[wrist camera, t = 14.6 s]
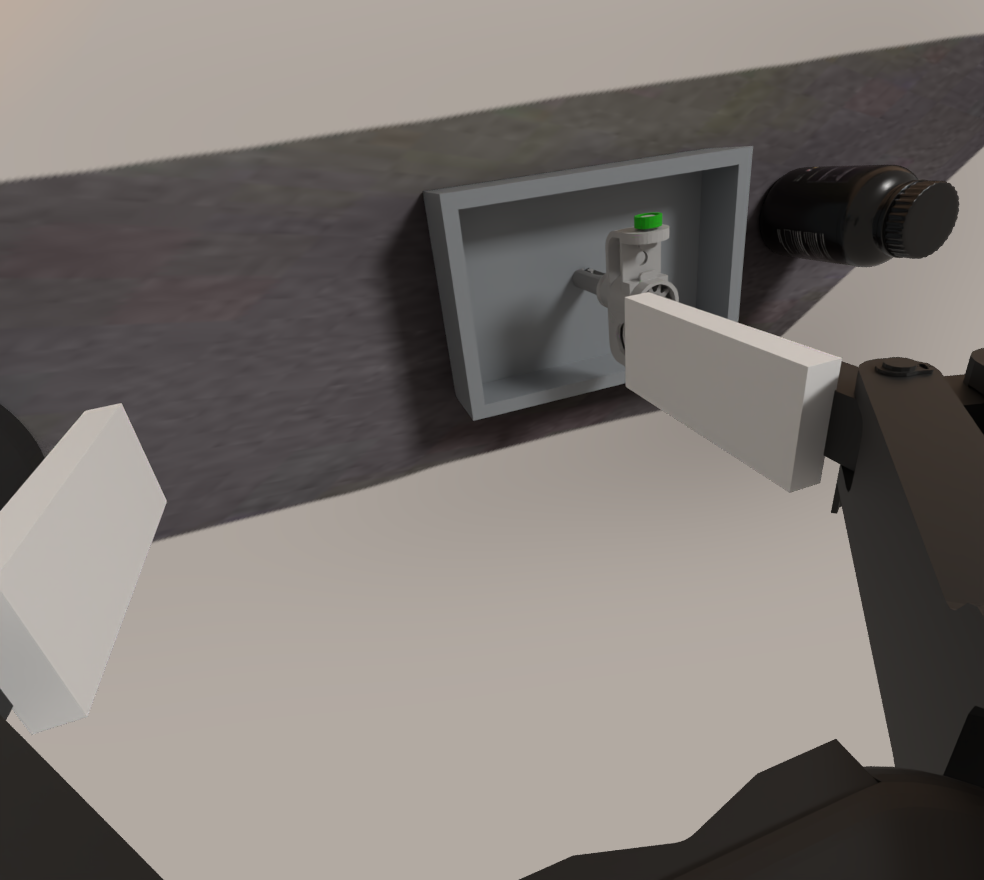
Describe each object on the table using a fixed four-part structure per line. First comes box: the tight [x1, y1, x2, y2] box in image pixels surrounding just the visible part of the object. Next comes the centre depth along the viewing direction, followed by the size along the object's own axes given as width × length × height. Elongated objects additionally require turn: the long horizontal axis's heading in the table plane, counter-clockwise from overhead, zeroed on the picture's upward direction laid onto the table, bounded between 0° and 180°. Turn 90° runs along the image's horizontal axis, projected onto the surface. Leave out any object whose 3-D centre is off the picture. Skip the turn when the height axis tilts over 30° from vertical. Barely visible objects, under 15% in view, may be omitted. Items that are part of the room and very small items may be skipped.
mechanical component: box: [573, 212, 679, 366], centre depth 39 cm, size 3×10×10 cm, turn 10°
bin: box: [423, 146, 753, 421], centre depth 42 cm, size 22×15×5 cm
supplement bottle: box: [760, 165, 959, 267], centre depth 42 cm, size 7×7×12 cm
